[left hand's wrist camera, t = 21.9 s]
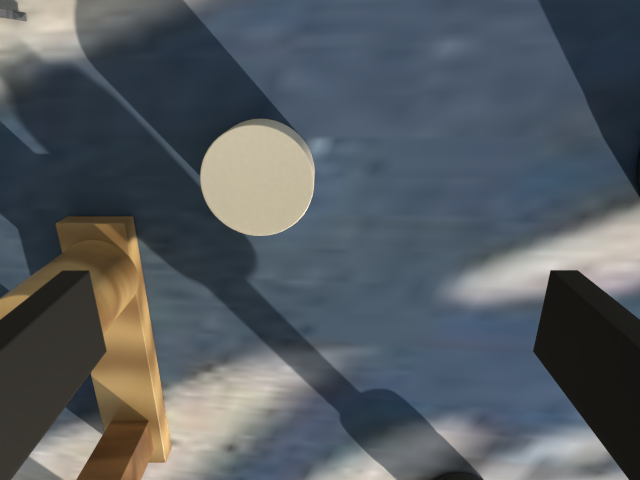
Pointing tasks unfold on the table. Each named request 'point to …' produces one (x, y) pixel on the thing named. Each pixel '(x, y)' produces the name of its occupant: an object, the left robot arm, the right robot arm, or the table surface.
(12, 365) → the left robot arm
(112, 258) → the canister stand
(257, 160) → the cap
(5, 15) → the toy
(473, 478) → the headphones
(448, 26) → the table surface
